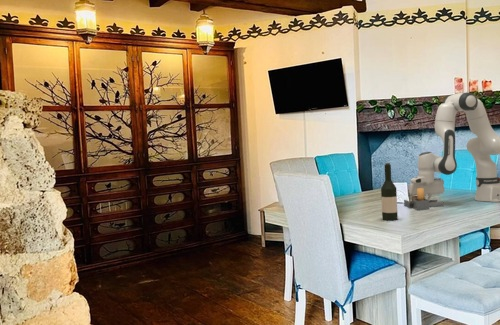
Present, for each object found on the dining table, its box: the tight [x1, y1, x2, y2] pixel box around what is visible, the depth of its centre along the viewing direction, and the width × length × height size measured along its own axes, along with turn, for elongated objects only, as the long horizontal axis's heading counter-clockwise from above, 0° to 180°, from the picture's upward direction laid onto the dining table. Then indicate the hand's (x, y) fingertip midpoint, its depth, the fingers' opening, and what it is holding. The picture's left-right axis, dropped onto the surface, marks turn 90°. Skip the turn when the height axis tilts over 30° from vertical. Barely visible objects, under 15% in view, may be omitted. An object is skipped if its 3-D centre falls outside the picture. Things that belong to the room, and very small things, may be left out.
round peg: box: [416, 188, 424, 201], centre depth 256 cm, size 4×4×9 cm
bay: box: [403, 199, 445, 209], centre depth 266 cm, size 20×10×4 cm, turn 89°
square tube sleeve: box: [412, 198, 430, 211], centre depth 257 cm, size 7×7×6 cm
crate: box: [410, 195, 426, 204], centre depth 266 cm, size 6×6×5 cm
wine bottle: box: [380, 162, 399, 222], centre depth 233 cm, size 8×8×30 cm
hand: (427, 201), depth 266 cm, fingers closed
